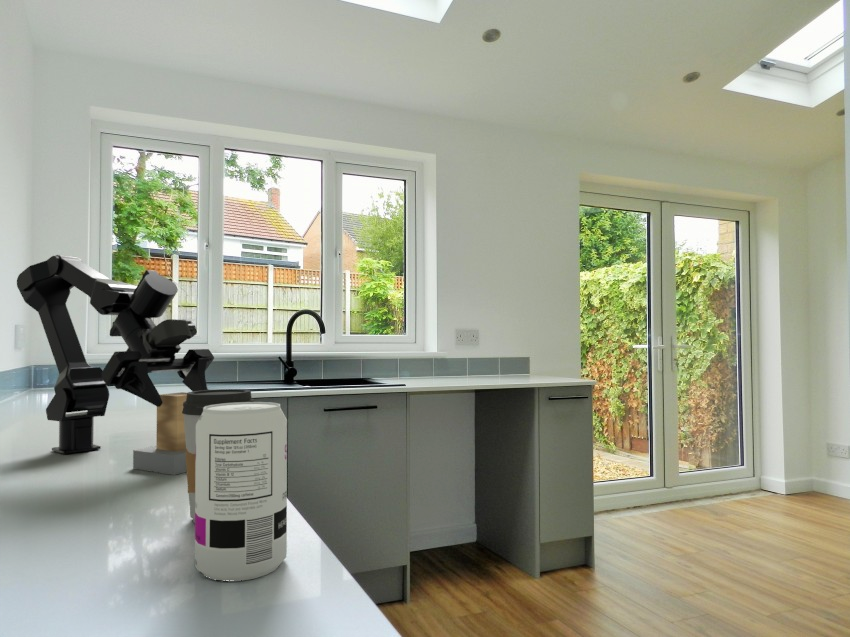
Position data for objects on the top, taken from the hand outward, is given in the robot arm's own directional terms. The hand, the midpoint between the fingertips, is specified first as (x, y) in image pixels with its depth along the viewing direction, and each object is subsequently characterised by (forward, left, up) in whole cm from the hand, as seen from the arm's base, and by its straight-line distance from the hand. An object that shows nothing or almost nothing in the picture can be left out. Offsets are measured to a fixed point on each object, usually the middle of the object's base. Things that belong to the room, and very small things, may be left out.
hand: (184, 401), depth 98 cm
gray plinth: (-1, 0, -11) cm, 11 cm away
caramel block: (-1, 0, -8) cm, 8 cm away
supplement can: (+45, -19, -11) cm, 50 cm away
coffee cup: (+30, -12, -11) cm, 34 cm away
